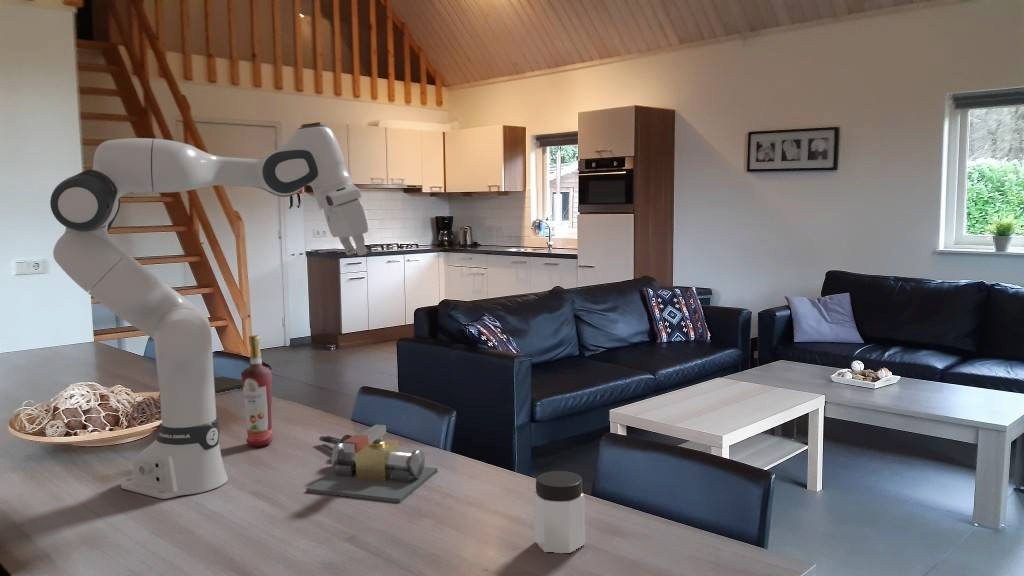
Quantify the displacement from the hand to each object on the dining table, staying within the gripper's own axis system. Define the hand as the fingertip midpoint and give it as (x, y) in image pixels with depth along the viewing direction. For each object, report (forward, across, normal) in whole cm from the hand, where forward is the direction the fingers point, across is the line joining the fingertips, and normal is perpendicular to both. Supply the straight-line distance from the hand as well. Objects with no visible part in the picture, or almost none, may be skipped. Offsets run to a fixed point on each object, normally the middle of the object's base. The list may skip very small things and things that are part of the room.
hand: (356, 254), depth 176 cm
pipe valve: (+48, +8, -14) cm, 50 cm away
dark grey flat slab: (+36, -99, -38) cm, 112 cm away
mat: (+47, +10, -16) cm, 51 cm away
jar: (+55, +56, +2) cm, 79 cm away
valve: (+47, -11, -14) cm, 50 cm away
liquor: (+40, -30, -32) cm, 60 cm away
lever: (+38, +12, -15) cm, 43 cm away
